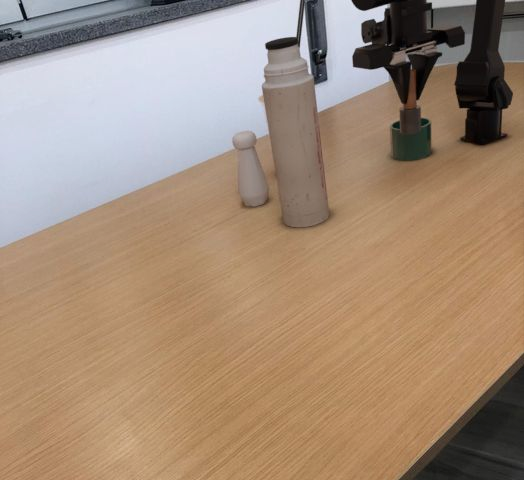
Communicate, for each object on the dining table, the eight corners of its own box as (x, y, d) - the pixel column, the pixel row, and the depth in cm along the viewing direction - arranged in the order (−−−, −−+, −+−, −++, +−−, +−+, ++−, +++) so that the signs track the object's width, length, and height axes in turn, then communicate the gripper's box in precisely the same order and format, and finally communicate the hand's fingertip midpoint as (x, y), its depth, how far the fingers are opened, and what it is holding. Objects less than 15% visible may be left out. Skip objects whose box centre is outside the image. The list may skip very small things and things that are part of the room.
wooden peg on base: (412, 126, 108) (411, 67, 102) (425, 130, 105) (424, 68, 100) (395, 132, 107) (393, 71, 101) (408, 135, 104) (406, 73, 99)
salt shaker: (258, 210, 110) (245, 138, 103) (234, 207, 114) (220, 137, 106) (276, 197, 114) (265, 127, 106) (253, 195, 117) (240, 127, 110)
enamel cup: (414, 144, 125) (413, 115, 122) (439, 152, 119) (439, 121, 116) (383, 155, 123) (382, 125, 119) (407, 163, 117) (406, 132, 113)
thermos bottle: (331, 206, 106) (312, 30, 90) (326, 225, 99) (304, 39, 84) (287, 210, 108) (260, 38, 92) (279, 229, 101) (249, 48, 86)
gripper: (423, -13, 103) (424, 83, 112) (330, 10, 98) (339, 109, 107) (468, -14, 95) (465, 90, 103) (369, 10, 90) (375, 118, 98)
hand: (410, 101), depth 103 cm, fingers closed on wooden peg on base, 2 cm apart
